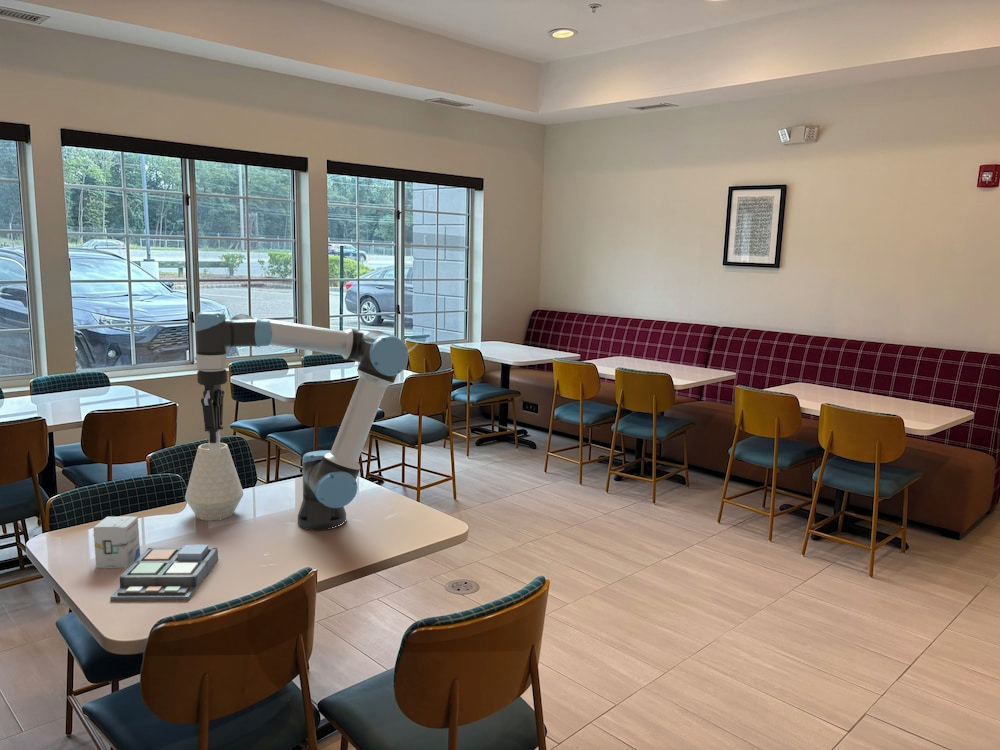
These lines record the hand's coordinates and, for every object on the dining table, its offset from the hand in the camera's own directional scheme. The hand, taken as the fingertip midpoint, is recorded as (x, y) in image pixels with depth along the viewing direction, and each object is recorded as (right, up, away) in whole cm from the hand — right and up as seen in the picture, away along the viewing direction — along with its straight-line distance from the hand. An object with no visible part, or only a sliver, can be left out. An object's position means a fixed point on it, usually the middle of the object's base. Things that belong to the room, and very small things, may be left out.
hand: (214, 453), depth 200 cm
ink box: (-26, -30, -2) cm, 39 cm away
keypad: (-8, -31, -12) cm, 34 cm away
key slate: (-4, -28, -5) cm, 28 cm away
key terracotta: (-12, -29, -5) cm, 32 cm away
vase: (-13, -24, +34) cm, 44 cm away
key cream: (-3, -30, -13) cm, 33 cm away
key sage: (-12, -30, -14) cm, 35 cm away
